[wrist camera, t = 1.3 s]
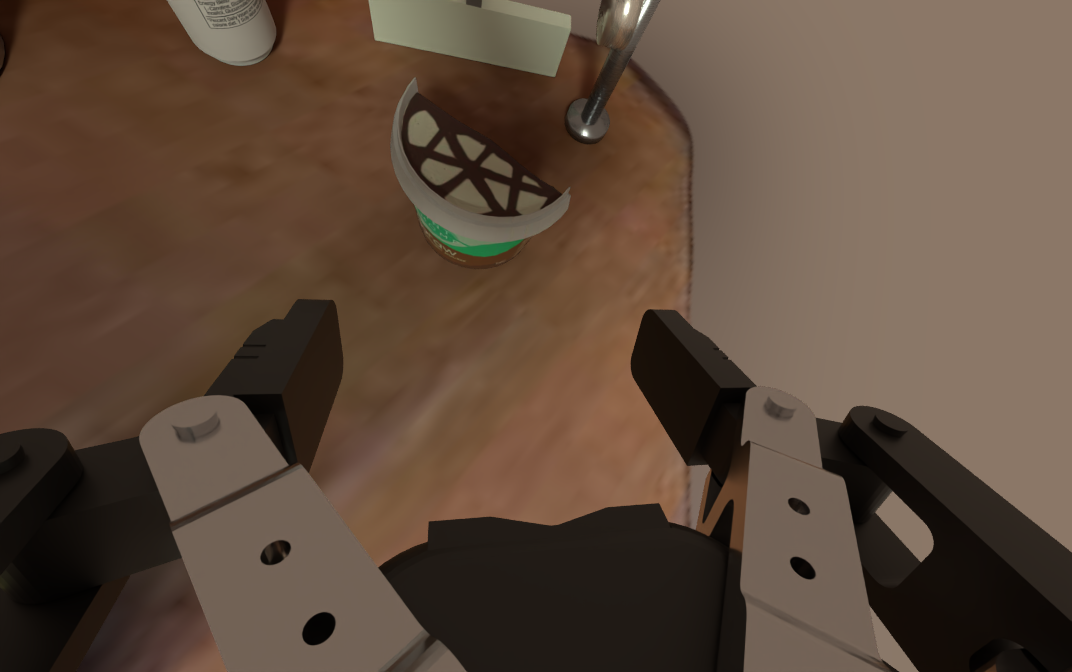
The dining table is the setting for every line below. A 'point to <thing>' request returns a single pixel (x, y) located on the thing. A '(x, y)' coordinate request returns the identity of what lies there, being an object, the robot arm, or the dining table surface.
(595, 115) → the post
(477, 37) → the rail
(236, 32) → the energy drink can
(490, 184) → the food container
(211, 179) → the dining table surface
